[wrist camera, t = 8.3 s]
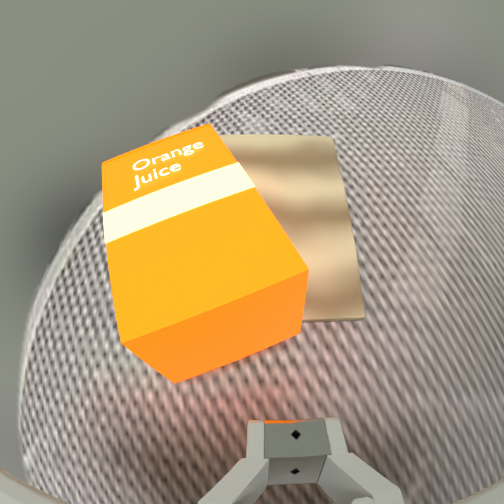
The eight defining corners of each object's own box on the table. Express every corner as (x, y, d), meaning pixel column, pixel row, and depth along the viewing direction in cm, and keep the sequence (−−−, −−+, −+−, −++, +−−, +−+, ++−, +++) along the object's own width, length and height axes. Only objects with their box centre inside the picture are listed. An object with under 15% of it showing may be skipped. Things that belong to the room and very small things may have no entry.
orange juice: (310, 266, 13) (193, 98, 24) (118, 342, 11) (100, 132, 23) (300, 333, 19) (207, 164, 31) (174, 384, 18) (128, 194, 29)
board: (205, 141, 32) (204, 135, 31) (330, 142, 32) (332, 136, 31) (182, 320, 23) (180, 318, 22) (361, 319, 23) (364, 317, 22)
